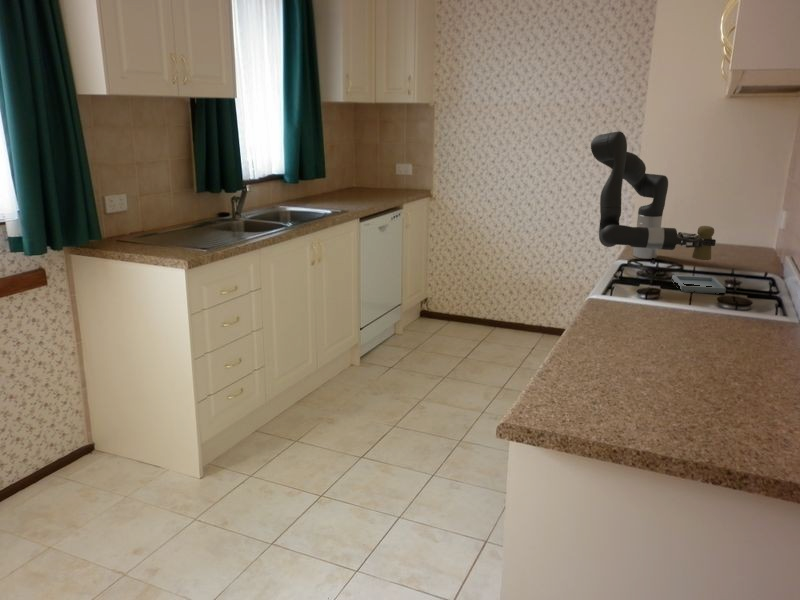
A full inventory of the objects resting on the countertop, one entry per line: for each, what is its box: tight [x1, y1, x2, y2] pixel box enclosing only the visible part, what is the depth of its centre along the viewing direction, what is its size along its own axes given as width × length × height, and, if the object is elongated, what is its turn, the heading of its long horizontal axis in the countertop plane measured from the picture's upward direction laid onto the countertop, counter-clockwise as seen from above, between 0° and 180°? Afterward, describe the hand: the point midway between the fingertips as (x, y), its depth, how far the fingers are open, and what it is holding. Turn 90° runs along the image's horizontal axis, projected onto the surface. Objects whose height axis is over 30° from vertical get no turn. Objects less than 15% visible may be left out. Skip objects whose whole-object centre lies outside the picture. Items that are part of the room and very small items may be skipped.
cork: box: [691, 225, 715, 261], centre depth 223 cm, size 6×6×11 cm
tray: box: [671, 274, 727, 295], centre depth 227 cm, size 14×14×2 cm
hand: (712, 241), depth 222 cm, fingers closed on cork, 3 cm apart
